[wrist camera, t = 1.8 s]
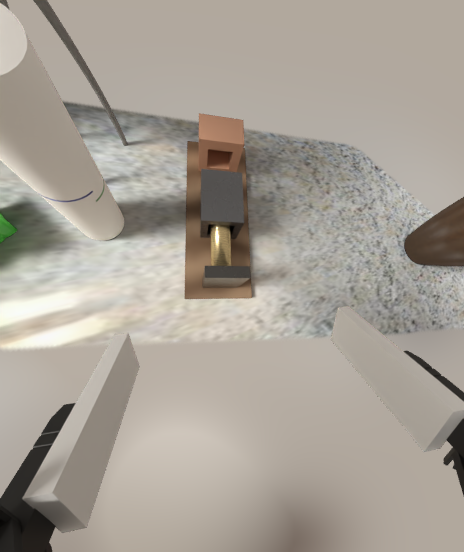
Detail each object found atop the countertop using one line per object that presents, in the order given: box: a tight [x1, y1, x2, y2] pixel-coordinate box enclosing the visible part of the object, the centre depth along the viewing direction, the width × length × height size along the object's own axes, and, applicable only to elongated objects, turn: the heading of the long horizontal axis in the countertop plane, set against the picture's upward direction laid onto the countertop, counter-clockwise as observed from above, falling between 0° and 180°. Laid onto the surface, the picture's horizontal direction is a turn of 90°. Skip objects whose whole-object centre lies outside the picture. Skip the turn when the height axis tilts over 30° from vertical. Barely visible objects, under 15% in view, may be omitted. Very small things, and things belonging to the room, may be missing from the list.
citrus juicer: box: [0, 0, 127, 146], centre depth 23 cm, size 11×10×30 cm
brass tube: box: [202, 224, 251, 288], centre depth 32 cm, size 20×6×10 cm, turn 2°
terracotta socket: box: [198, 114, 244, 172], centre depth 37 cm, size 5×8×8 cm, turn 92°
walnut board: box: [185, 141, 252, 299], centre depth 39 cm, size 32×12×1 cm, turn 2°
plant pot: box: [405, 197, 464, 266], centre depth 39 cm, size 15×15×16 cm
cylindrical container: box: [0, 3, 124, 241], centre depth 23 cm, size 7×7×25 cm
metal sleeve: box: [200, 169, 244, 239], centre depth 35 cm, size 9×7×7 cm
